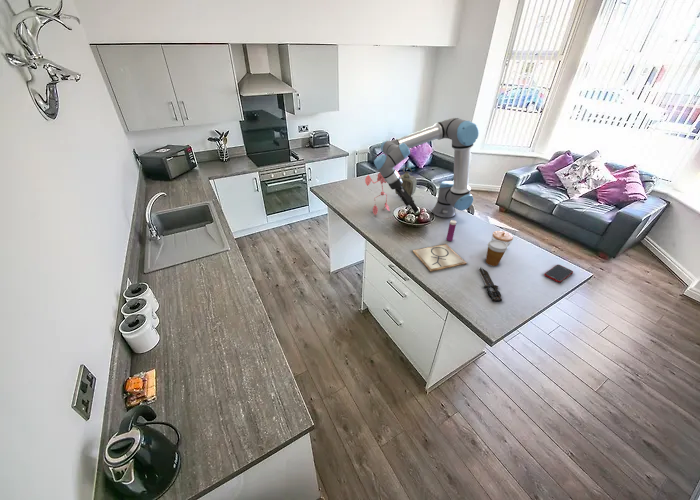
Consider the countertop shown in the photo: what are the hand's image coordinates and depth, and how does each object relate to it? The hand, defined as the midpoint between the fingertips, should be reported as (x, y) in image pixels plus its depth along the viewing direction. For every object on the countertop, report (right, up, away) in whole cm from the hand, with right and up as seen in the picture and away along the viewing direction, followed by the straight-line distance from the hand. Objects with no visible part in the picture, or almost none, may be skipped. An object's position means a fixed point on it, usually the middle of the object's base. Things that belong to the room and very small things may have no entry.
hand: (412, 208), depth 171 cm
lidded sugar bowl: (+51, -23, -2) cm, 56 cm away
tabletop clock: (+5, +15, +55) cm, 58 cm away
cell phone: (+70, -37, -23) cm, 83 cm away
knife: (+31, -42, -29) cm, 60 cm away
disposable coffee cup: (+40, -32, -15) cm, 53 cm away
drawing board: (+12, -29, -11) cm, 33 cm away
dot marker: (+23, -19, +4) cm, 30 cm away
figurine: (-14, 0, +33) cm, 36 cm away
